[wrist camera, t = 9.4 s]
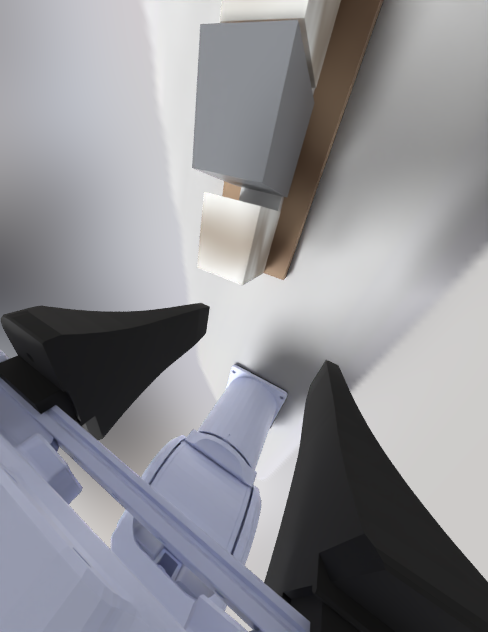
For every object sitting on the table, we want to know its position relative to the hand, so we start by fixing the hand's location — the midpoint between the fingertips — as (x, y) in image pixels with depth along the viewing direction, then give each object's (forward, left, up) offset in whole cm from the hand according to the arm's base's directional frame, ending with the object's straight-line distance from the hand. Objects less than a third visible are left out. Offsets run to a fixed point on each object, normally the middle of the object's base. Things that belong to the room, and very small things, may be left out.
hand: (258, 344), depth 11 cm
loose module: (+10, +5, -8) cm, 14 cm away
